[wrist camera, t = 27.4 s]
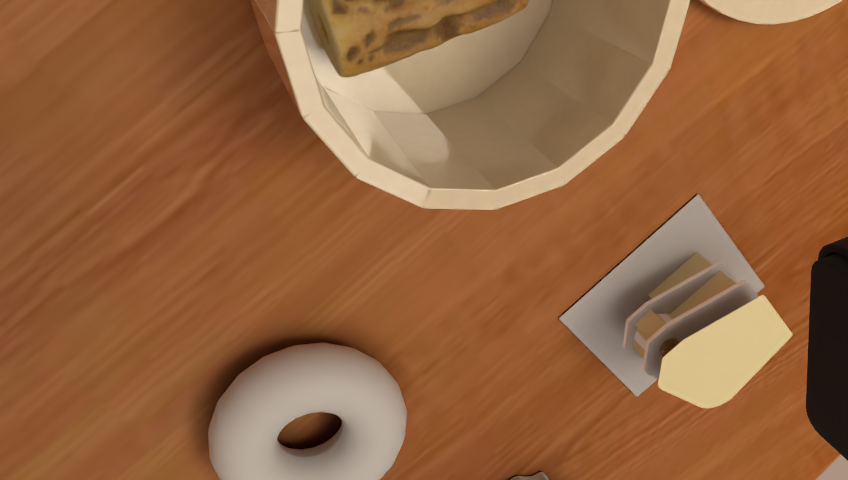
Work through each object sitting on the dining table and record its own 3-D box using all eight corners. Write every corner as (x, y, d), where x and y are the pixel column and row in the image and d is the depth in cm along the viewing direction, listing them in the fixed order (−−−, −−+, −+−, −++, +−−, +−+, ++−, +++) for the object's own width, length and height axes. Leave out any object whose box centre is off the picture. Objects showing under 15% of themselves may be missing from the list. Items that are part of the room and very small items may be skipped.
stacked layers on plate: (697, 193, 43) (764, 240, 39) (764, 286, 48) (830, 337, 43) (558, 318, 44) (606, 377, 40) (636, 396, 49) (688, 458, 45)
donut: (341, 497, 46) (431, 361, 43) (354, 545, 43) (451, 402, 40) (172, 459, 41) (260, 303, 38) (173, 509, 38) (269, 345, 36)
